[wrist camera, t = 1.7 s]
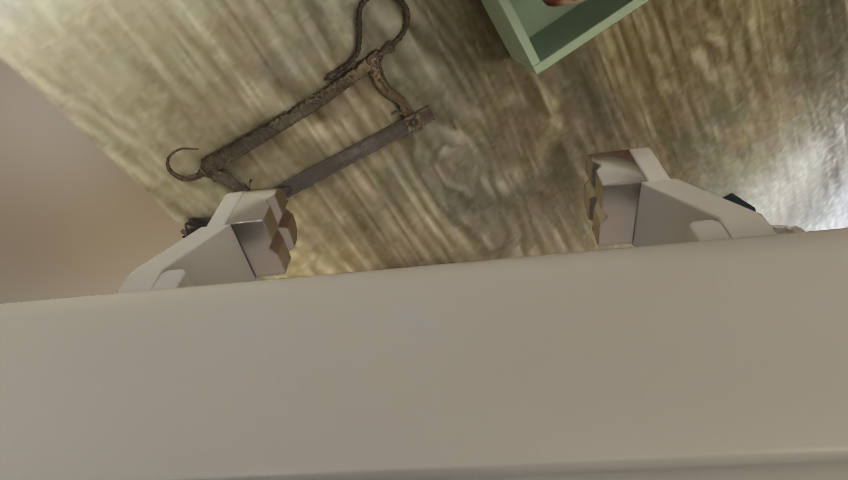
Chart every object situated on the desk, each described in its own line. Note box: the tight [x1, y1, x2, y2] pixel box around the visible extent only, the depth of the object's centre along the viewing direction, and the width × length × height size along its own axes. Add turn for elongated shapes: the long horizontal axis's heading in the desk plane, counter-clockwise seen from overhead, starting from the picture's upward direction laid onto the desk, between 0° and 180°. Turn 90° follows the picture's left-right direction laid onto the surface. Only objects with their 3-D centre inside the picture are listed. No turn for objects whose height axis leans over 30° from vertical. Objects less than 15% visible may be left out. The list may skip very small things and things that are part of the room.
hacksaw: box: [166, 0, 435, 238], centre depth 39 cm, size 24×10×2 cm, turn 116°
